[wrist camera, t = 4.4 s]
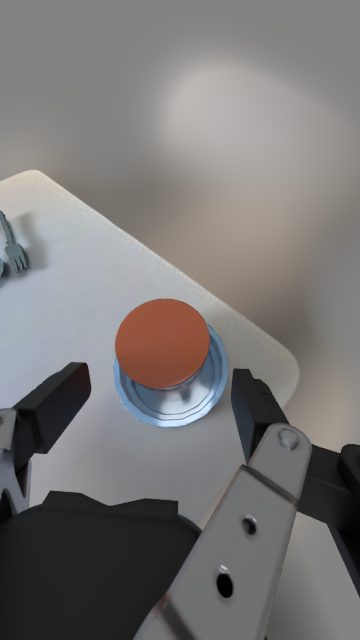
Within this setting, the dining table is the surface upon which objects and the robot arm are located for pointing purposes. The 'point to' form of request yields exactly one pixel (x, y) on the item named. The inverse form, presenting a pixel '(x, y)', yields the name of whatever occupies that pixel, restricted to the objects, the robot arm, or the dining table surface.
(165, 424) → the bowl
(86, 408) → the dining table surface
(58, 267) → the dining table surface
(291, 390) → the dining table surface
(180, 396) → the terracotta cylindrical canister
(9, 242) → the cutlery set
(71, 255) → the dining table surface
